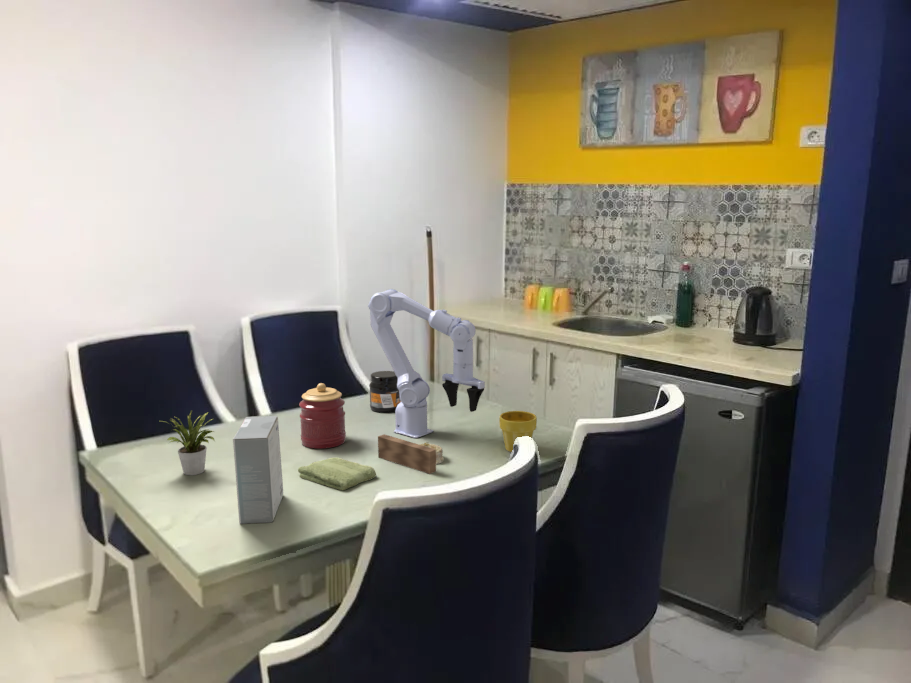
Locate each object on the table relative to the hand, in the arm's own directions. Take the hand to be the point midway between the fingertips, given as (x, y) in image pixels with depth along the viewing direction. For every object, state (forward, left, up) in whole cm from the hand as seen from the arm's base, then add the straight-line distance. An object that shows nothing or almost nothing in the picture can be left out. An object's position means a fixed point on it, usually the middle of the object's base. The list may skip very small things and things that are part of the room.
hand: (463, 408), depth 214 cm
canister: (-29, -28, -9) cm, 42 cm away
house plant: (-37, -66, -9) cm, 77 cm away
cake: (+4, -20, -10) cm, 22 cm away
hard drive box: (-4, -67, -9) cm, 68 cm away
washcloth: (-6, -43, -10) cm, 45 cm away
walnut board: (+2, -26, -9) cm, 28 cm away
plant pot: (+18, +3, -9) cm, 20 cm away
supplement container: (-39, +7, -9) cm, 41 cm away
